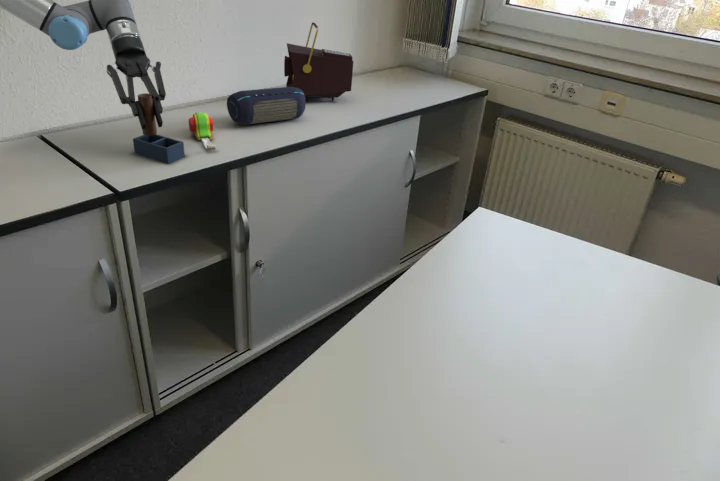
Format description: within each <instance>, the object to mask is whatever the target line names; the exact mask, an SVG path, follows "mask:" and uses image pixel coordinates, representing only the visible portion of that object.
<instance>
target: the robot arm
mask: <svg viewBox="0 0 720 481" xmlns="http://www.w3.org/2000/svg"><path fill="white" fill-rule="evenodd" d="M0 8H1V9H2V10H4V11H5V12H8V13H9V14H11V15H13V16H15V17H16V18H18V19H19V20H22V21H23V22H24V23H26V24H28V25H30V26H32V27H34V29H36V30H38V31H39V32H40V31H41V32H42V33H43V34H45V35H46V36H48V37H49V38H50V40H51V41H52V43H54V45H56V46H57V47H59V48H60V49H62V50H66V51H74V50H77V49H79V48H81V47H82V46H83V45H84V44H85V43H86V41H87V40H88V37H89V35H90V34H94V33H98V32H102V31H105V30H106V33H107V36H108V39H109V43H110V45H111V49H112V53H113V56H114V59H115V61H114V63H113V64H107V65H106V74H107V75H108V76H109V77H110V78H111V81H112V82H113V85H114V88H115V90H116V93H117V96H118V98H119V101H120V103H121V104H122V105H128V106H129V108H130V110H131V113H132V116H133V117H137V118H138V122H139V124H140V127H141V130H142V131H143V129H145V127H146V122H145V119H144V116H143V113H142V109H141V106H140V103H139V101H138V100H136V95H135V94H136V93H135V86H134V78H139V79H140V80H141V82H143V84H144V86H145V88H146V90H147V93H148V94H151V95H152V99H153V106H154V114H155V122H156V125H157V127H158V128H162V127H163V124H164V121H163V118H162V114H163V111H164V108H163V106H162V101H164V100H165V99H166V95H167V93H166V88H165V85H164V81H163V77H162V76H163V75H162V71H161V67H162V63H161V61H156V62H154V61H151V60H150V58H149V57H148V56H147V52H146V50H145V47H144V44H143V41H142V38H141V34H140V32H139V29H138V25H137V22H136V19H135V15H134V12H133V9H132V4H131V2H130V0H85V1H80V2H76V3H73V4H68V5H61V4H58V3H57V2H55V0H0ZM149 68H150V69H151V71H152V72H153V74H154V80H155V83H156V87H155V85H154V83H153V81H152V78H150V76H149V73H148V70H149ZM118 70H119V71H120V73H122V74H123V75H125V80H126V85H127V93H126V92H125V89H124V87H123V84H122V81H121V79H120V76H119V73H118ZM156 88H157V89H156ZM127 95H128V96H127Z"/></svg>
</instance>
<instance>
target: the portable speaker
mask: <svg viewBox="0 0 720 481" xmlns="http://www.w3.org/2000/svg"><path fill="white" fill-rule="evenodd" d="M306 102H307V101H305V95H304V93H303V91H302V90H301V89H299V88H295V87H286V86H285V87H272V88H271V87H270V88H261V89H247V90H239V91H237V92H234V93H231V94H230V95H229V96H228V97H227V99H226V108H227V112H228V115H229V117H230V118H231V120H232V121H233V122H234V123H235V124H238V125H254V124H262V123H270V122H271V123H272V122H278V121H279V122H280V121H288V120H295V119H299V118H300V117H301V116H303V114H304V113H305V110H306V106H307V105H306Z"/></svg>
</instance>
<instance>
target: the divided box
mask: <svg viewBox="0 0 720 481" xmlns="http://www.w3.org/2000/svg"><path fill="white" fill-rule="evenodd" d="M132 142H133V149H134V154H135V155H137V156H142V157H145V158H148V159H151V160H155V161H157V162H161V163H164V164H168V165H169V164H171V163H173V162H176V161H179V160H180V159H182V158H184V157H185V146H184V141H181V140H178V139H174V138H171V137H168V136H165V135H161V134H158V133H157V134H156V135H152V136H146V135H144V134H142V135H139V136H136V137H133V138H132Z"/></svg>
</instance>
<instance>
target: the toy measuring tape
mask: <svg viewBox="0 0 720 481" xmlns="http://www.w3.org/2000/svg"><path fill="white" fill-rule="evenodd" d="M214 127H215V126H214V120H213V118H212V116H209V115H208V113H207V112H204V111H203V112H201V111H199V112H195V113H193V114H192V116H191V117H189V118H188V129H189V132H190V133H193V134H194V136H195V138H196V139H197V141H201V142H202V144H203V146H204V148H205V149H206V150H207V151H215V150H216V148H217V146H216V144H213V143H212V142H211V141H210V140H212V133H211V132H213V131H214Z"/></svg>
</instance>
